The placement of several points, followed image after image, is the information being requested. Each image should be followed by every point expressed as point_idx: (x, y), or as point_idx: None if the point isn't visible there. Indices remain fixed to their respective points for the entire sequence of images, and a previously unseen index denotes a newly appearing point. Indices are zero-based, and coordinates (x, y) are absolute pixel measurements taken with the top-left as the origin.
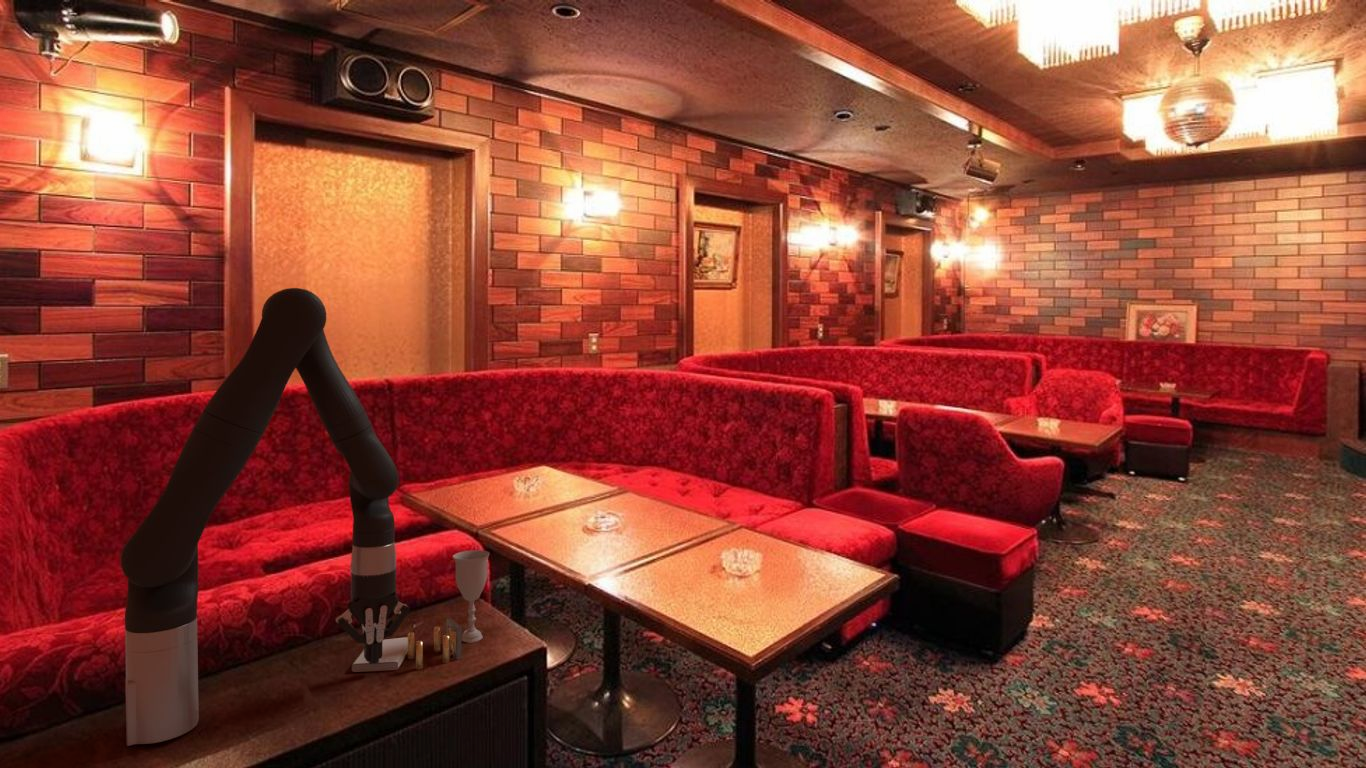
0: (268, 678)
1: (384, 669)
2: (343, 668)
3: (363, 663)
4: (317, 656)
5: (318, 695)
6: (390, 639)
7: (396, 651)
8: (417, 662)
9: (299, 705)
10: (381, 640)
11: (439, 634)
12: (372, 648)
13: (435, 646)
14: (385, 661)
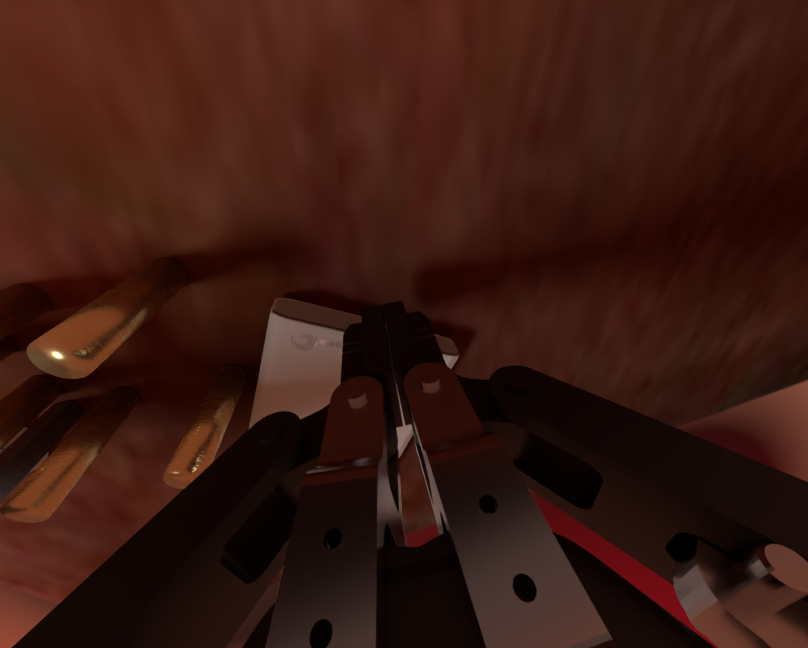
0: (651, 375)
1: (336, 311)
2: (469, 374)
3: None
4: None
5: (611, 173)
6: None
7: (287, 410)
8: (157, 277)
9: (712, 93)
10: (345, 387)
11: (38, 468)
12: (403, 348)
13: (106, 414)
14: (330, 335)
